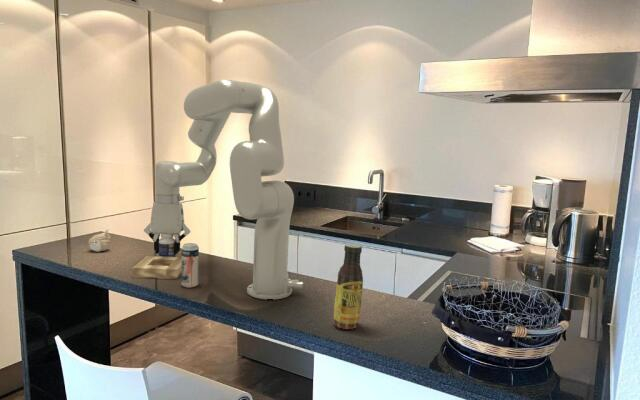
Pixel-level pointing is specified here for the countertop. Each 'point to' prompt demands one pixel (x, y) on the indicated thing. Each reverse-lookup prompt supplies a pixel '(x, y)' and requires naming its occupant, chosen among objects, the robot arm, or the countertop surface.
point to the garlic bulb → (100, 242)
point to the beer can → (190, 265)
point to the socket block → (158, 267)
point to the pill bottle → (166, 245)
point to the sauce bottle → (349, 289)
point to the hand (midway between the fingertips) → (167, 252)
